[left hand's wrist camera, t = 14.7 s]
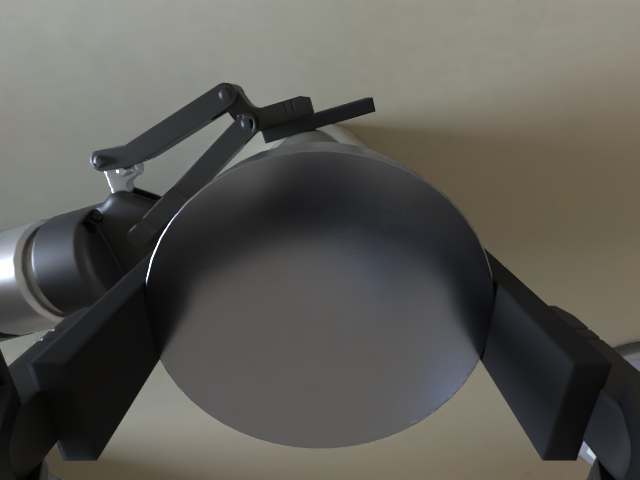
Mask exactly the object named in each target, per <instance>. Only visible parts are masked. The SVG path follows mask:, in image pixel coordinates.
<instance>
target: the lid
mask: <svg viewBox="0 0 640 480" xmlns="http://www.w3.org/2000/svg"><path fill="white" fill-rule="evenodd" d="M145 304H146V311H147V316H148V321H149V325H150V330H151V335H152V340H153V343H154V346H155V349H156V352H157V354H158V356H159V358H160V360H161V362H162V363H163V365H164V367H165V369H166V370H167V372H168V373H169V375H170V376H171V377H172V379H173V380H174V381H175V383H176V384H177V386H178V387H179V388H180V389H181V390H182V391H183V392H184V393H185V394H186V395H187V396H188V397H189V398H190V399H191V400H192V401H193V402H194V403H195V404H196V405H198V406H199V407H200V408H201V409H203V410H204V411H205V412H206V413H208V414H209V415H211V416H212V417H214V418H215V419H217V420H218V421H220V422H222V423H223V424H225V425H227V426H229V427H231V428H233V429H235V430H237V431H239V432H242V433H244V434H247V435H249V436H252V437H255V438H257V439H261V440H265V441H268V442H272V443H275V444H281V445H287V446H292V447H303V448H337V447H347V446H353V445H358V444H363V443H368V442H372V441H375V440H378V439H382V438H385V437H388V436H390V435H393V434H395V433H398V432H400V431H402V430H405V429H407V428H409V427H410V426H412V425H414V424H416V423H418V422H420V421H421V420H423V419H424V418H426V417H427V416H429V415H430V414H432V413H433V412H434V411H436V410H437V409H438V408H440V407H441V406H442V405H443V404H444V403H445V402H446V401H448V400H449V399H450V398H451V397H452V396H453V395H454V394H455V393H456V392H457V390H458V389H459V388H460V387H461V386H462V385H463V384H464V383H465V381H466V380H467V378H468V377H469V375H470V374H471V372H472V371H473V370H474V368H475V366H476V364H477V363H478V361H479V359H480V357H481V355H482V353H483V351H484V348H485V345H486V342H487V338H488V334H489V329H490V324H491V319H492V315H493V309H494V288H493V280H492V273H491V269H490V266H489V262H488V259H487V255H486V252H485V250H484V248H483V246H482V244H481V242H480V239H479V237H478V235H477V233H476V232H475V230H474V229H473V227H472V226H471V224H470V223H469V221H468V220H467V218H466V217H465V215H464V214H463V213H462V212H461V211H460V210H459V209H458V208H457V207H456V206H455V204H454V203H453V202H452V201H451V200H450V199H449V198H448V197H447V196H446V195H444V194H443V193H442V192H441V191H439V190H438V189H437V188H436V187H434V186H433V185H432V184H431V183H429V182H428V181H427V180H425V179H424V178H423V177H421V176H420V175H419V174H417V173H416V172H415V171H413V170H412V169H410V168H409V167H407V166H405V165H404V164H402V163H400V162H398V161H397V160H395V159H393V158H391V157H388V156H386V155H384V154H381V153H379V152H376V151H374V150H370V149H367V148H363V147H359V146H355V145H351V144H343V143H334V142H303V143H297V144H290V145H284V146H280V147H276V148H273V149H270V150H266V151H263V152H260V153H258V154H256V155H253V156H251V157H249V158H247V159H245V160H242V161H240V162H239V163H237V164H236V165H234V166H232V167H231V168H229V169H228V170H226V171H225V172H223V173H222V174H220V175H219V176H218V177H216V178H215V179H214V180H212V181H211V182H210V183H208V184H207V185H206V186H204V187H203V188H202V189H201V190H200V191H199V192H197V193H196V194H195V195H194V196H193V197H192V198H190V199H189V200H188V201H187V202H186V203H185V204H184V205H183V207H182V208H181V209H180V210H179V211H178V213H177V214H176V215H175V216H174V217H173V218H172V220H171V221H170V223H169V224H168V226H167V228H166V229H165V231H164V233H163V234H162V236H161V237H160V239H159V242H158V244H157V246H156V249H155V251H154V254H153V256H152V259H151V263H150V267H149V271H148V275H147V281H146V294H145Z"/></svg>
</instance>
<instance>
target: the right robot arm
mask: <svg viewBox="0 0 640 480" xmlns="http://www.w3.org/2000/svg"><path fill="white" fill-rule="evenodd" d="M227 112H228V113H229V114H230V115H231V116H232V118H233V119H234V120H235V121H234V122H233V123H232V124H231V125H230V127H229V128H228V129H227V130H226V131H225V132H224V133H223V134H222V135H221V136H220V137H219V138H218V139H217V140H216V141H215V143H214V144H213V145H212V146H211V147H210V148H209V149H208V150H207V151H206V152H205V153H204V154H203V155H202V156H201V158H200V159H199V160H198V161H197V162H196V163H195V164H194V165H193V166H192V167H191V168H190V169H189V170H188V171H187V172H186V174H185V175H184V176H183V177H182V178H181V179H180V180H179V181H178V182H177V183H176V184H175V185H174V186H173V187H172V188H171V189H170V190H169V191H168V192H167V193H166V194H165V195H164V196H163V197H162V196H159V195H156V194H153V193H150V192H147V191H145V190H142V189H139V188H135V187H134V184H133V183H134V179H135V178H136V177H138V176H140V175H141V174H142V173H143V171H144V164H143V162H144V161H147V160H150V159H152V158H155V157H157V156H158V155H160V154H162V153H163V152H165V151H167V150H168V149H170V148H171V147H173V146H175V145H176V144H178V143H179V142H181V141H183V140H184V139H186V138H187V137H189V136H191V135H192V134H194V133H195V132H197V131H199V130H200V129H202V128H203V127H205V126H207V125H208V124H210V123H211V122H213V121H214V120H216V119H218V118H219V117H221V116H222V115H224V114H226V113H227ZM371 112H375V107H374V102H373V97H372V98H364V99H361V100H357V101H354V102H351V103H347V104H344V105H341V106H337V107H334V108H330V109H327V110H324V111H320V112H317V113H314V110H313V106H312V102H311V99H310V97H303V96H299V97H296V98H292V99H289V100H286V101H283V102H279V103H276V104H273V105H269V106H266V107H263V108H259V107H256V106H254V105H253V104H252V103H251V102H250V100H249V99H248V98H247V96H246V95H245V93H244V91H243V89H242V88H241V87H240V86H238V85H235V84H230V83H221V84H219V85H217V86H216V87H214V88H213V89H211V90H210V91H208V92H206V93H205V94H203V95H202V96H200V97H199V98H197V99H196V100H194V101H193V102H191V103H190V104H188V105H186V106H185V107H183V108H182V109H180V110H179V111H177V112H176V113H174V114H173V115H171V116H169V117H168V118H166V119H165V120H163V121H162V122H160V123H159V124H157V125H156V126H154V127H153V128H151V129H149V130H148V131H146V132H145V133H143V134H142V135H140V136H139V137H137V138H136V139H134V140H132V141H131V142H129V143H128V144H126V145H122V146H117V147H112V148H108V149H103V150H99V151H95V152H93V153H92V154H91V155H90V163H91V165H92V166H93V167H94V168H95V169H96V170H99V171H104V172H105V174H106V177H107V179H108V182H109V185H110V187H111V190H112V192H113V193H112V194H111V195H110V196H109V197H108V198H107V200H106V201H105V202H103V203H100V204H96V205H93V206H89V207H86V208H82V209H79V210H76V211H72V212H69V213H65V214H62V215H58V216H55V217H53V218H51V219H49V220H41V221H37V222H34V223H31V224H27V225H24V226H20V227H17V228H13V229H10V230H7V231H3V232H0V342H1V341H5V340H9V339H13V338H16V337H20V336H24V335H28V334H32V333H35V332H39V331H43V330H48V329H52V328H54V327H55V326H56V325H57V324H58V323H60V322H61V321H62V320H63V319H64V318H65V317H67V316H69V315H71V314H73V313H75V312H76V311H78V310H80V309H82V308H84V307H91V306H92V305H93V304H94V303H95V302H96V301H97V300H99V299H100V298H101V297H102V296H103V295H104V294H105V293H106V292H107V291H109V290H110V289H111V288H112V287H113V286H114V285H115V284H116V283H117V282H119V281H120V280H121V279H122V278H123V277H124V276H125V275H126V274H127V273H129V272H130V271H131V270H132V269H133V268H134V267H135V266H136V265H137V264H138V263H140V262H141V261H142V260H143V259H144V258H145V257H146V256H147V255H148V254H150V253H151V252H152V251H153V250H154V249H155V248H156V246H157V244H158V242H159V239H160V237H161V236H162V234H163V233H164V231H165V229H166V228H167V226H168V224H169V223H170V221H171V220H172V218H173V217H174V216H175V215H176V214H177V213H178V211H179V210H180V209H181V208H182V207H183V205H184V204H185V203H186V202H187V201H188V200H189V199H190V198H192V197H193V196H194V195H195V194H196V193H197V192H199V191H200V190H201V189H202V188H203V187H204V186H206V185H207V184H208V183H209V182H210V181H211V180H212V179H213V178H214V177H215V176H216V175H217V174H218V173H219V172H220V171H221V170H222V169H223V168H224V167H225V166H226V165H227V164H228V163H229V162H230V161H231V160H232V159H233V158H234V157H235V156H236V154H237V153H238V152H239V151H240V150H241V149H242V148H243V147H244V146H245V145H246V144H247V143H248V142H249V141H250V140H251V139H252V138H253V137H254V136H255V135H256V134H257V133H258V132H259V131H262V134H263V137H264V140H265V143H269V142H272V141H276V140H279V139H282V138H286V137H289V136H293V135H296V134H300V133H303V132H306V131H310V130H313V129H317V128H320V127H323V126H327V125H330V124H334V123H337V122H341V121H344V120H347V119H351V118H354V117H358V116H361V115H365V114H368V113H371ZM48 480H63V479H61V478H57V477H55V476H53V475H52V474H50V473H49V472H48Z"/></svg>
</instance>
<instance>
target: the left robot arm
mask: <svg viewBox="0 0 640 480" xmlns="http://www.w3.org/2000/svg"><path fill="white" fill-rule="evenodd" d="M155 249H156V248H155ZM155 249H154V250H153V251H152V252H151V253H150V254H148V255H147V256H146V257H145V258H144V259H143V260H142V261H141V262H140V263H138V264H137V265H136V266H135V267H134V268H133V269H132V270H131V271H130V272H129V273H127V274H126V275H125V276H124V277H123V278H122V279H121V280H120V281H119V282H117V283H116V284H115V285H114V286H113V287H112V288H111V289H110V290H109V291H107V292H106V293H105V294H104V295H103V296H102V297H101V298H100V299H99V300H97V301H96V302H95V303H94V304H93V305H92V306H91V307H84V308H82V309H80V310H78V311H76V312H75V313H73V314H71V315H69V316H67V317H65V318H64V319H63V320H62V321H61V322H60V323H58V324H57V325H56V326H55V327H54V328H53V329H52V331H49V332H48V333H47V334H46V335H44V336H43V337H42V338H41V341H37V342H36V343H35V344H34V345H33V346H32V347H30V348H29V349H28V350H27V351H26V352H25V353H23V354H22V355H21V356H20V357H19V358H18V359H16V360H15V361H14V362H13V363H12V364H11V365H9V366H8V367H7V364H6V362H5V359H4V357H3V354H2V352H1V349H0V480H48V466H47V463H46V460H45V458H44V457H45V456H46V455H47V454H48V452H49V451H50V450H51V448H52V447H53V446H54V444H55V443H56V442H57V445H58V448H59V450H60V453H61V456H62V458H63V461H97V459H98V458H99V456H100V455H101V453H102V451H103V450H104V448H105V447H106V445H107V443H108V442H109V440H110V438H111V437H112V435H113V434H114V432H115V430H116V429H117V427H118V425H119V424H120V422H121V421H122V419H123V417H124V416H125V414H126V413H127V411H128V409H129V408H130V406H131V404H132V403H133V401H134V400H135V398H136V396H137V395H138V393H139V391H140V390H141V388H142V387H143V385H144V383H145V382H146V380H147V379H148V377H149V375H150V374H151V372H152V370H153V369H154V367H155V366H156V364H157V362H158V361H159V359H160V358H159V356H158V354H157V352H156V349H155V346H154V343H153V340H152V335H151V330H150V325H149V321H148V316H147V311H146V304H145V294H146V281H147V275H148V271H149V267H150V263H151V259H152V256H153V254H154V251H155ZM484 250H485V252H486V255H487V259H488V262H489V266H490V269H491V273H492V280H493V288H494V309H493V315H492V319H491V324H490V329H489V334H488V338H487V342H486V345H485V348H484V351H483V353H482V355H481V357H480V360H481V361H482V363H483V365H484V366H485V368H486V369H487V371H488V373H489V374H490V376H491V377H492V379H493V381H494V382H495V384H496V386H497V387H498V389H499V390H500V392H501V394H502V395H503V397H504V399H505V400H506V402H507V403H508V405H509V407H510V408H511V410H512V411H513V413H514V415H515V416H516V418H517V420H518V421H519V423H520V424H521V426H522V428H523V429H524V431H525V433H526V434H527V436H528V437H529V439H530V441H531V442H532V444H533V446H534V447H535V449H536V450H537V452H538V454H539V455H540V457H541V458H542V460H577V457H578V456H579V457H580V458H582V459H583V460H584V461H586V462H587V463H589V464H590V465H591V466H592V468H591V470H590V473H589V475H588V478H587V480H640V342H636V343H631V344H627V345H623V346H620V347H617V348H614V349H612V348H611V347H610V346H609V345H608V344H607V343H605V342H604V341H603V340H600V339H599V337H598V336H597V335H596V334H595V333H594V332H592V331H591V330H588V327H587V326H585V325H584V324H583V323H582V322H581V321H580V320H578V319H577V318H576V317H575V316H573V315H572V314H570V313H568V312H566V311H564V310H562V309H560V308H558V307H556V306H548V305H547V304H545V303H544V302H543V301H542V300H541V299H540V298H539V297H538V296H537V295H535V294H534V293H533V292H532V291H531V290H530V289H529V288H528V287H527V286H525V285H524V284H523V283H522V282H521V281H520V280H519V279H518V278H517V277H516V276H514V275H513V274H512V273H511V272H510V271H509V270H508V269H507V268H506V267H504V266H503V265H502V264H501V263H500V262H499V261H498V260H497V259H496V258H494V257H493V256H492V255H491V254H490V253H489V252H488V251H487V250H486V249H485V248H484Z"/></svg>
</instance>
